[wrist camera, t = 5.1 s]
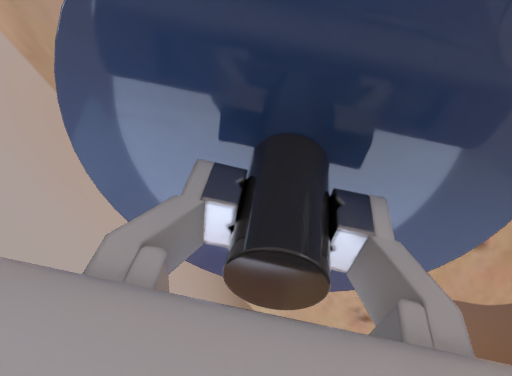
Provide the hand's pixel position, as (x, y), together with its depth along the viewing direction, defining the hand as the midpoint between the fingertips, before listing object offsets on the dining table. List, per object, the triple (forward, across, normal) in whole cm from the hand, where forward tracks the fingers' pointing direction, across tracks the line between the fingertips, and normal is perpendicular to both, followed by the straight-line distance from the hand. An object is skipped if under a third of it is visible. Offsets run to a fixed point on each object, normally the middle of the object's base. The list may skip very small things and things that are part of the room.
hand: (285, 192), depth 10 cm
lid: (+2, 0, 0) cm, 2 cm away
